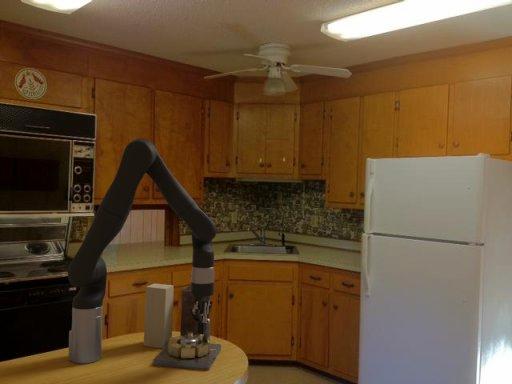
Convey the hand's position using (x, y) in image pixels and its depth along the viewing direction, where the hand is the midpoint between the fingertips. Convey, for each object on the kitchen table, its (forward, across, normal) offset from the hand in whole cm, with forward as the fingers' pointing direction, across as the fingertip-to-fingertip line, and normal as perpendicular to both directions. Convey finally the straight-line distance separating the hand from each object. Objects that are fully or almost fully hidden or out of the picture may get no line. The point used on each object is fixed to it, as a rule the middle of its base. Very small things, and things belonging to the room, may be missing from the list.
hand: (201, 333), depth 153 cm
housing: (+9, +2, +5) cm, 11 cm away
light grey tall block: (+9, +9, +21) cm, 24 cm away
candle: (+9, +17, +12) cm, 22 cm away
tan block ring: (+7, +2, +5) cm, 9 cm away
